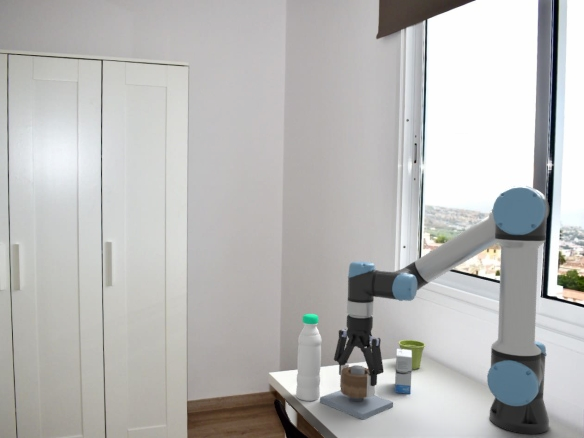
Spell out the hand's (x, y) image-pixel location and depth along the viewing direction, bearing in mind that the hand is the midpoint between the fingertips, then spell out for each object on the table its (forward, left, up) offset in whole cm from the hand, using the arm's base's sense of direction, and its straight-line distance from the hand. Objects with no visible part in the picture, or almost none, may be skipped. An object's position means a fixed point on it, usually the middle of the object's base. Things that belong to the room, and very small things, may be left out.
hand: (356, 391), depth 161 cm
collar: (0, 0, 0) cm, 0 cm away
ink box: (-1, -22, -4) cm, 22 cm away
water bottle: (+13, +7, -4) cm, 15 cm away
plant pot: (+10, -43, -4) cm, 44 cm away
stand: (0, 0, -4) cm, 4 cm away
